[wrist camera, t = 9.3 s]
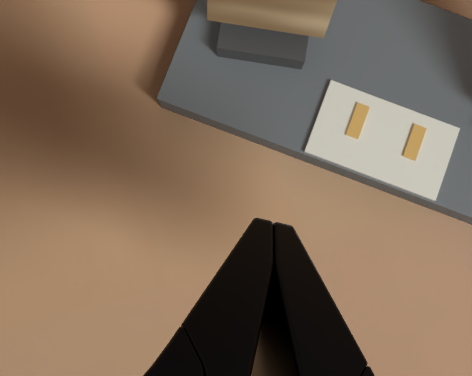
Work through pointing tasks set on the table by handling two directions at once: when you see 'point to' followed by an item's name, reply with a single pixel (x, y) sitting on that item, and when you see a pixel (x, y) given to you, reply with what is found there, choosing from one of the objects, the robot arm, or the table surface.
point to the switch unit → (343, 94)
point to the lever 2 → (275, 14)
